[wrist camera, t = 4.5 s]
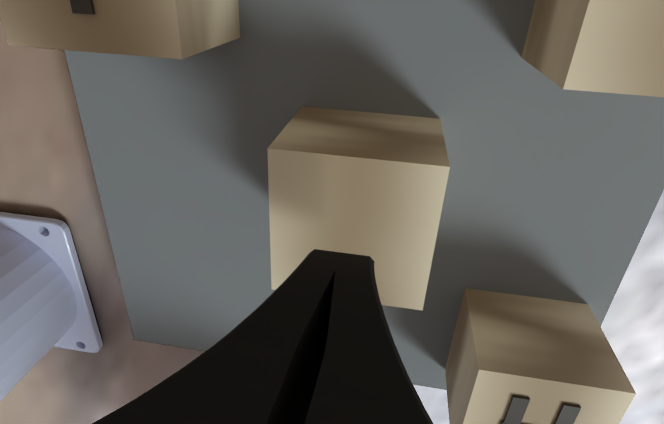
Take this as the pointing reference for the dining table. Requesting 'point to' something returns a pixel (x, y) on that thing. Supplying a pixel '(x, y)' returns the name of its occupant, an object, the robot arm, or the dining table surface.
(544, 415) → the block four
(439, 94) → the mat
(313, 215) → the plain block
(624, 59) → the block seven
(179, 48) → the tan cube
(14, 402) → the dining table surface
